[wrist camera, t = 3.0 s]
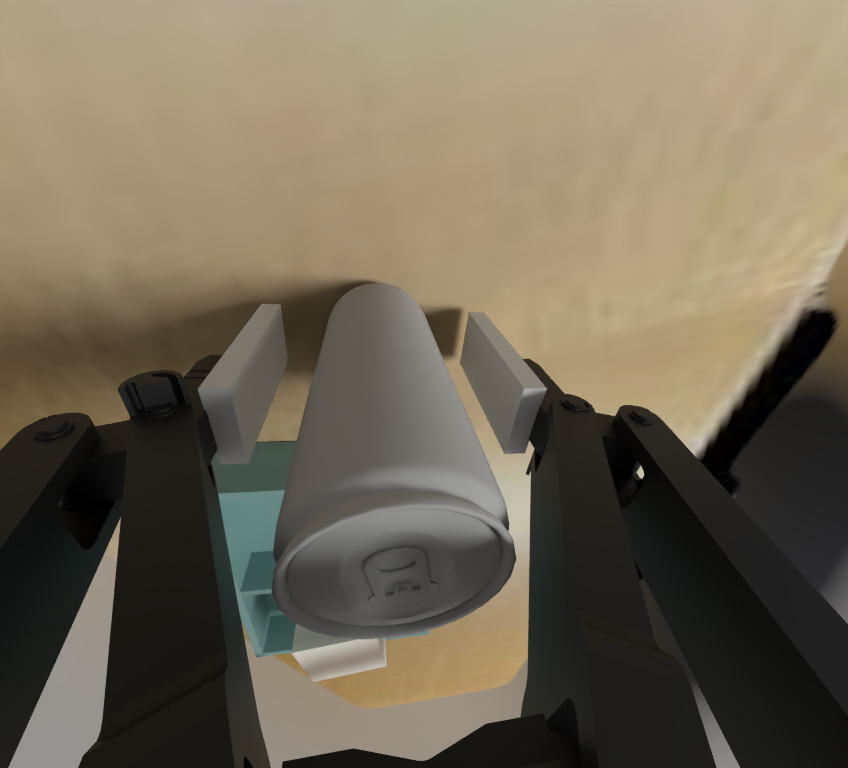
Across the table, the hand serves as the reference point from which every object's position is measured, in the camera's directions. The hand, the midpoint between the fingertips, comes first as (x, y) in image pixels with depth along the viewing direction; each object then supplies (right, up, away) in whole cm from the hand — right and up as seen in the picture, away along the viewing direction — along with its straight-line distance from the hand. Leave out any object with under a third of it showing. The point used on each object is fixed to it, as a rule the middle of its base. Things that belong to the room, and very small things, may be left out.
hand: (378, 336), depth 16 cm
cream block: (-4, -17, +10) cm, 20 cm away
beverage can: (0, +1, +1) cm, 1 cm away
